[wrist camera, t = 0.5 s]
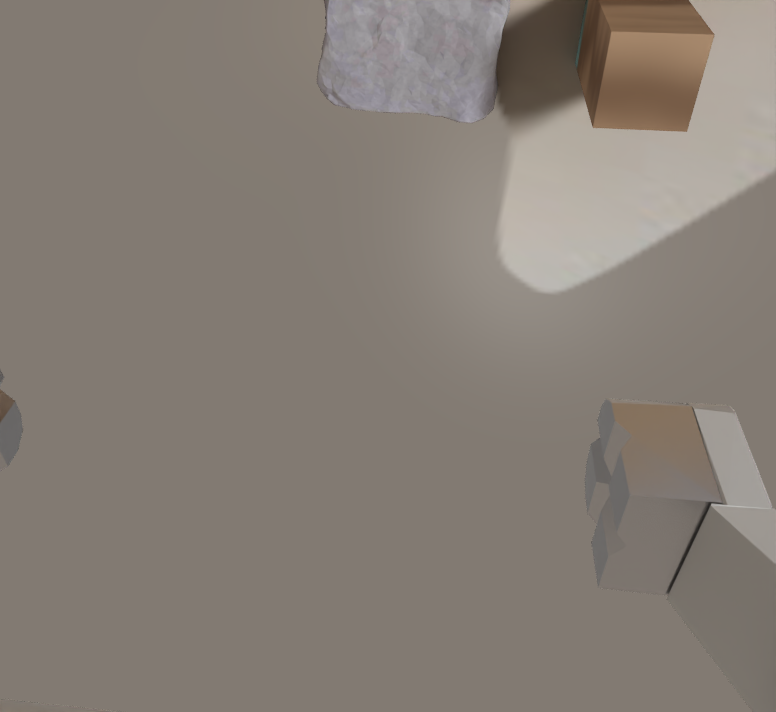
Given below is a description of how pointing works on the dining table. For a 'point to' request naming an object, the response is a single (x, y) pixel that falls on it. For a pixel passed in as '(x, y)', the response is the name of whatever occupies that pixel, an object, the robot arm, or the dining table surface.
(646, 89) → the walnut block
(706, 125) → the dining table surface
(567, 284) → the dining table surface
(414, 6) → the stone block
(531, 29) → the dining table surface
